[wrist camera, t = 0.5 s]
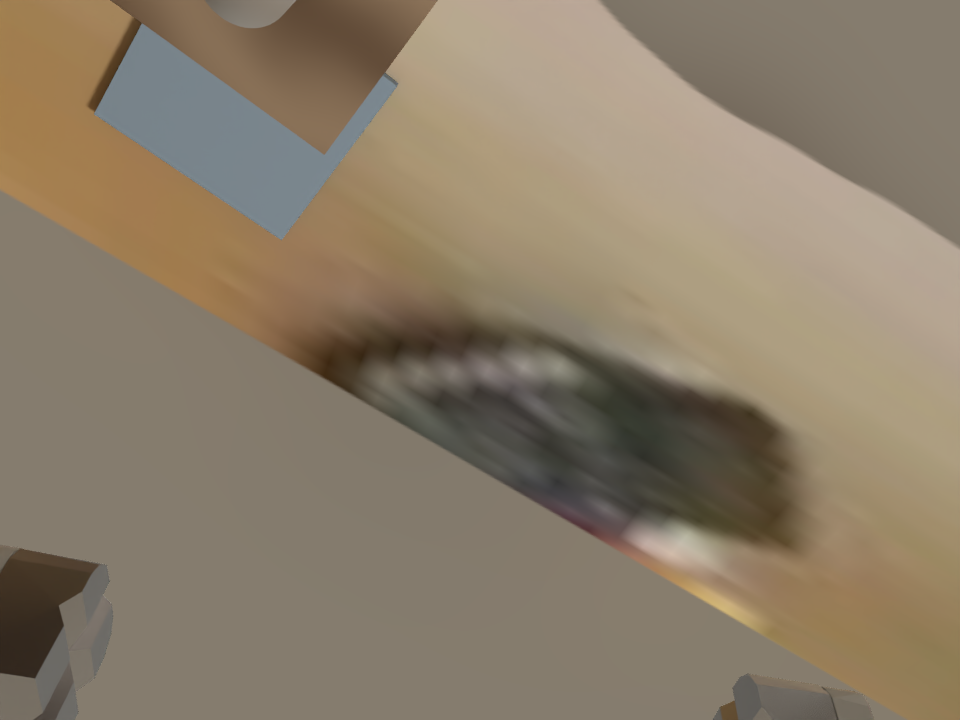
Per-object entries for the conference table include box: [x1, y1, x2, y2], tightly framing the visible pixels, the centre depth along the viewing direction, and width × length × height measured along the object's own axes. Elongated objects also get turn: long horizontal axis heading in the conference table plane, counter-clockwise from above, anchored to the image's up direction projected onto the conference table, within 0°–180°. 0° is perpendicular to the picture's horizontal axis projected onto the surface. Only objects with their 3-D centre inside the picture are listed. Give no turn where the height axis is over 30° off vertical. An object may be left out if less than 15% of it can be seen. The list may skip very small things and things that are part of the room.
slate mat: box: [94, 24, 398, 240], centre depth 50 cm, size 13×13×1 cm
